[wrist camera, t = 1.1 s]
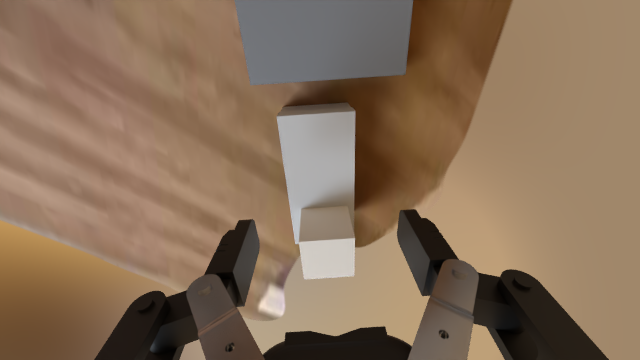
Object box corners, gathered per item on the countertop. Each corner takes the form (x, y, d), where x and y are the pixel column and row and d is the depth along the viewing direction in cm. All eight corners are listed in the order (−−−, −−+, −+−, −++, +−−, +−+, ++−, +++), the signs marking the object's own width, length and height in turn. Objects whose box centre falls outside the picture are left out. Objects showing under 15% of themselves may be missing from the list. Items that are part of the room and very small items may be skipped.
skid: (282, 104, 20) (276, 116, 17) (347, 100, 20) (355, 111, 17) (297, 217, 26) (295, 244, 23) (348, 214, 26) (353, 240, 23)
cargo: (300, 208, 21) (299, 241, 17) (347, 205, 21) (354, 238, 17) (305, 243, 23) (304, 279, 19) (347, 240, 23) (354, 276, 19)
